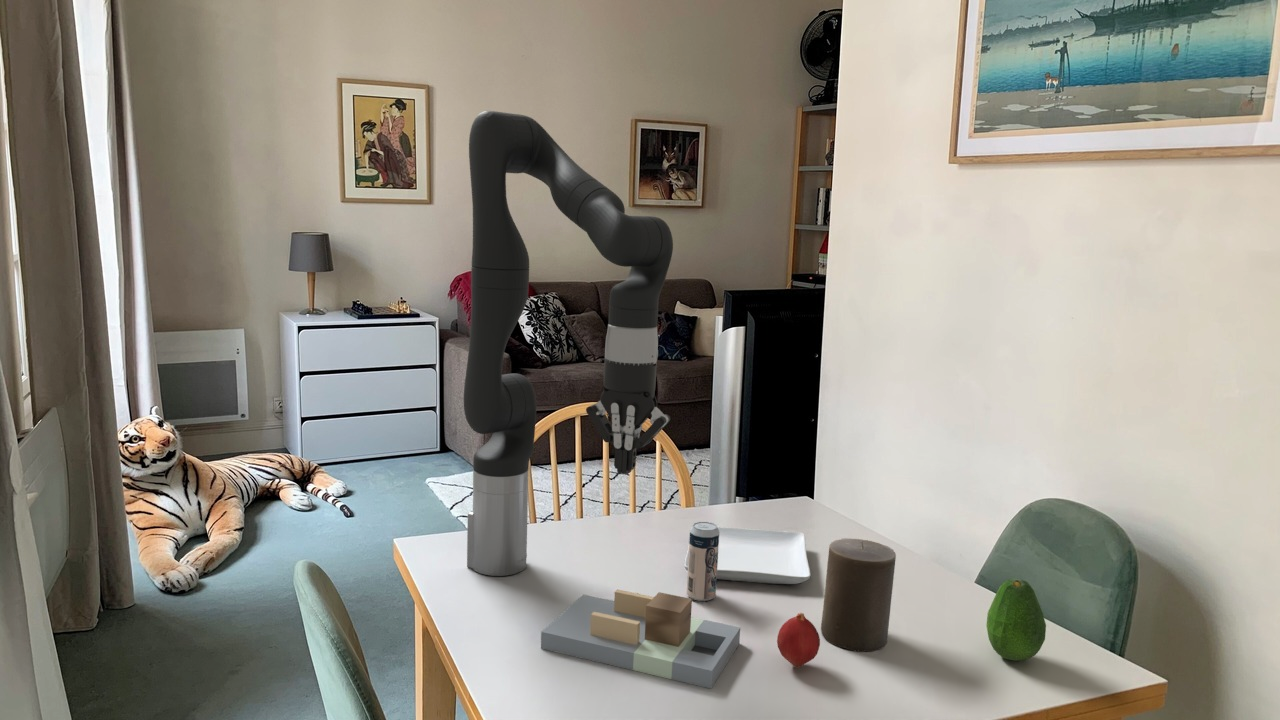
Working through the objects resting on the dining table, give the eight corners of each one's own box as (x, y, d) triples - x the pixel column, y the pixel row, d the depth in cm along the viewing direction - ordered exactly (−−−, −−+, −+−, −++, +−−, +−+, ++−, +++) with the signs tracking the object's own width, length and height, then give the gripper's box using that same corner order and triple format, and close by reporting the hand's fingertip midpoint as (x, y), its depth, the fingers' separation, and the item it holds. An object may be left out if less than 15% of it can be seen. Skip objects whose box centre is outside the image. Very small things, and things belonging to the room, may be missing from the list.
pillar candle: (849, 657, 131) (860, 556, 128) (807, 627, 139) (816, 533, 137) (901, 645, 135) (912, 548, 133) (857, 617, 144) (866, 526, 141)
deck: (540, 648, 130) (541, 611, 129) (582, 609, 142) (584, 575, 141) (710, 688, 121) (713, 649, 120) (739, 643, 134) (741, 607, 133)
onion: (771, 656, 130) (775, 602, 129) (811, 656, 131) (815, 603, 129) (780, 677, 124) (784, 621, 123) (822, 676, 125) (827, 621, 124)
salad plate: (682, 584, 154) (683, 565, 154) (690, 540, 175) (691, 522, 175) (810, 595, 152) (811, 576, 152) (803, 549, 173) (804, 531, 172)
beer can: (713, 604, 146) (718, 532, 144) (684, 600, 147) (688, 529, 145) (717, 592, 151) (721, 522, 149) (688, 588, 152) (692, 519, 150)
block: (644, 639, 128) (646, 605, 127) (657, 624, 133) (658, 592, 132) (678, 646, 126) (680, 612, 126) (690, 632, 131) (692, 598, 130)
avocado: (971, 648, 135) (980, 571, 133) (1017, 643, 137) (1026, 567, 135) (1007, 675, 128) (1016, 594, 126) (1054, 670, 130) (1064, 589, 128)
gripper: (577, 354, 131) (572, 471, 134) (664, 365, 126) (656, 487, 129) (600, 347, 138) (594, 459, 141) (683, 358, 133) (675, 473, 136)
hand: (624, 472), depth 135 cm, fingers closed
